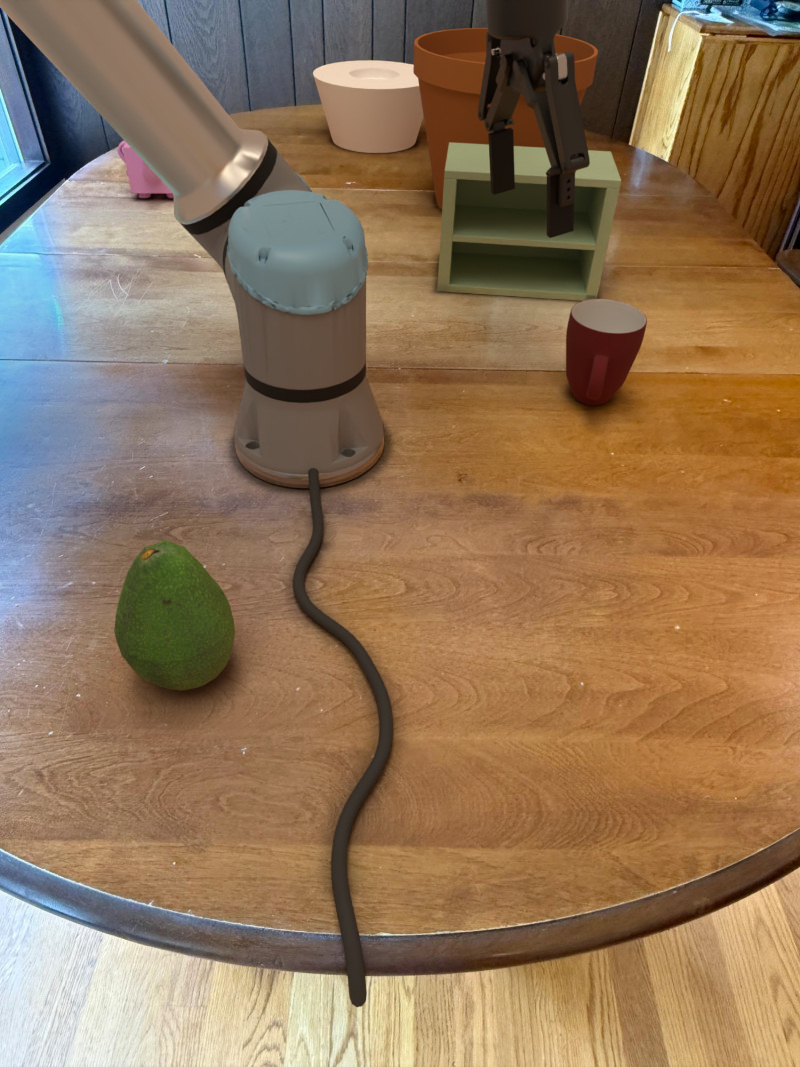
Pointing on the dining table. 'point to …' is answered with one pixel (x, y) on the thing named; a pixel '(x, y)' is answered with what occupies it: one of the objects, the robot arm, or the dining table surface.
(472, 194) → the shelf unit
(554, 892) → the dining table surface
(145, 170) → the teapot
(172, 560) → the fruit
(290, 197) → the robot arm
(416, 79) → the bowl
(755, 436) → the dining table surface
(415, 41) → the flowerpot
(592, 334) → the mug
